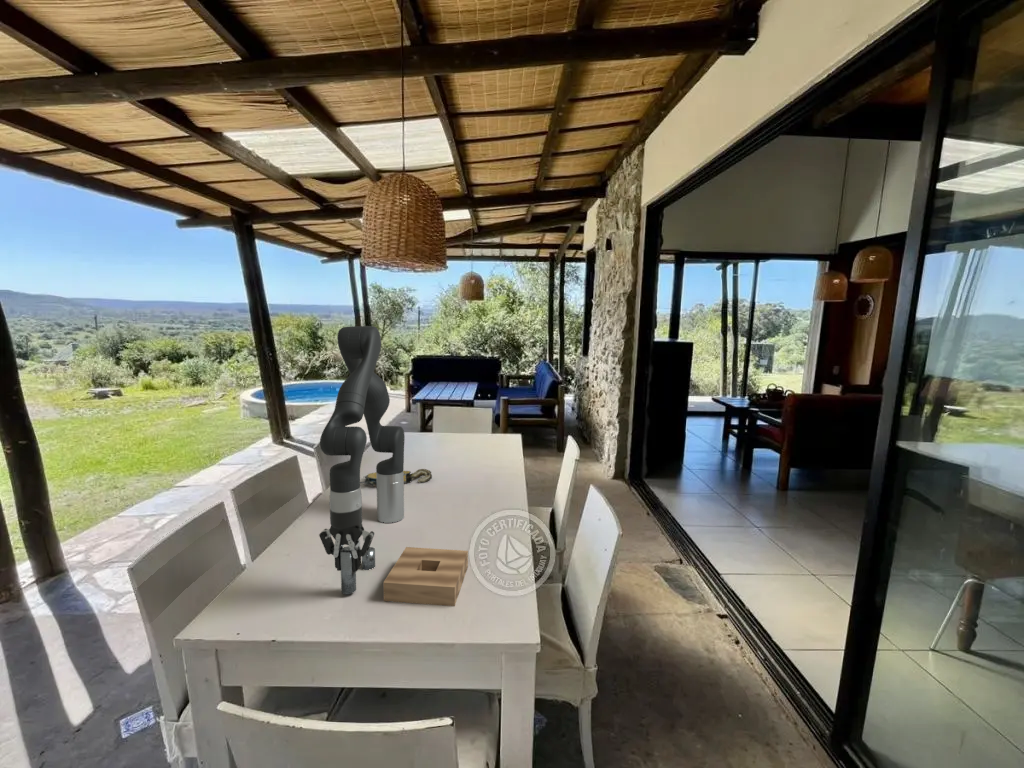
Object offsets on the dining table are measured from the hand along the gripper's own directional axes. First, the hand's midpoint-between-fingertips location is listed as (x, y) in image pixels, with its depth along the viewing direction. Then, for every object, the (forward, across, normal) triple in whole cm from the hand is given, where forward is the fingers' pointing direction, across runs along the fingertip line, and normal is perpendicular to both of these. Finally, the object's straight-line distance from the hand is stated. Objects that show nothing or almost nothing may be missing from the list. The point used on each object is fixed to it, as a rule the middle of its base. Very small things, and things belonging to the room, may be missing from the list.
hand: (348, 569), depth 114 cm
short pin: (+7, 0, -13) cm, 14 cm away
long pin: (+6, 0, 0) cm, 6 cm away
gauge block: (+7, -19, -7) cm, 21 cm away
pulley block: (+8, +15, -80) cm, 81 cm away
